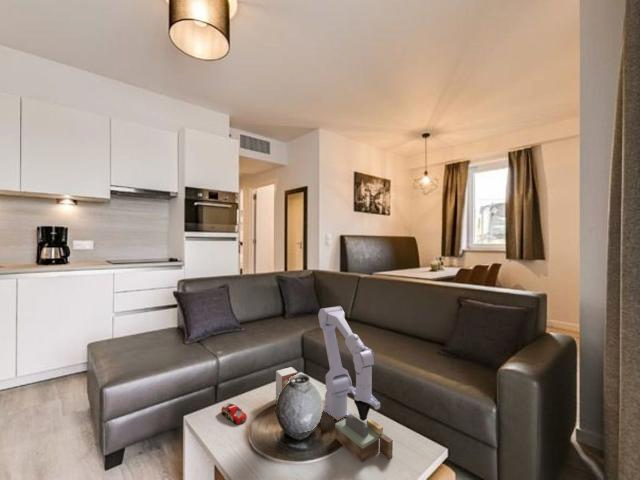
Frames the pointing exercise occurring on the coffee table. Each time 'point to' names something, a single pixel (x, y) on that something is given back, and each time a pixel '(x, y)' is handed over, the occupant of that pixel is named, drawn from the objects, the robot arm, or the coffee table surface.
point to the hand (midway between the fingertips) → (363, 419)
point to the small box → (283, 378)
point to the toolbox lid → (357, 430)
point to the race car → (233, 413)
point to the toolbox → (369, 450)
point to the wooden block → (374, 426)
